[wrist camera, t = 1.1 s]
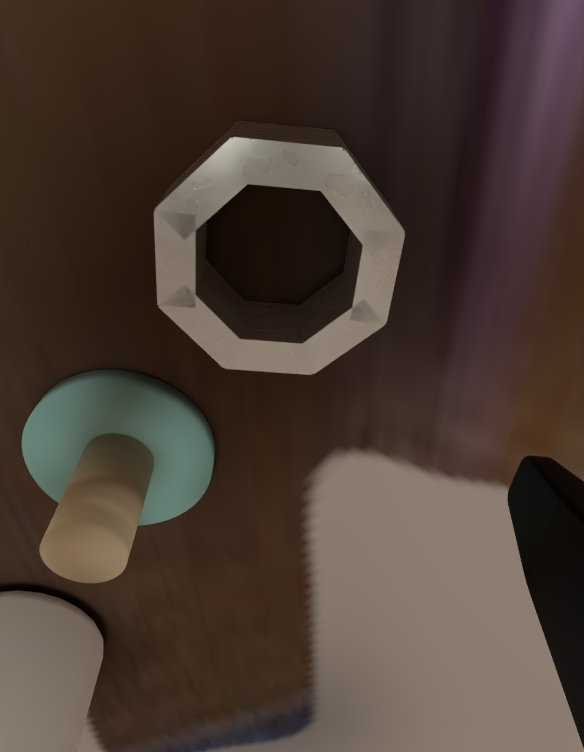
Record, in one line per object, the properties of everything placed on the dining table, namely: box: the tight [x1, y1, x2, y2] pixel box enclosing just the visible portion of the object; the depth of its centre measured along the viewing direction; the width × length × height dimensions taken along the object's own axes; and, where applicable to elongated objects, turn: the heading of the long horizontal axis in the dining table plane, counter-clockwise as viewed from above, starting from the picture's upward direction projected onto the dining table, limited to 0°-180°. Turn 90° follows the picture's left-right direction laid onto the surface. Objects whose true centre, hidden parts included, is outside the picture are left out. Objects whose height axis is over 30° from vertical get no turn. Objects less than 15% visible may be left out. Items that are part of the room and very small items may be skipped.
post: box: [22, 369, 215, 583], centre depth 22 cm, size 8×8×6 cm
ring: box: [154, 120, 405, 375], centre depth 18 cm, size 7×7×3 cm
